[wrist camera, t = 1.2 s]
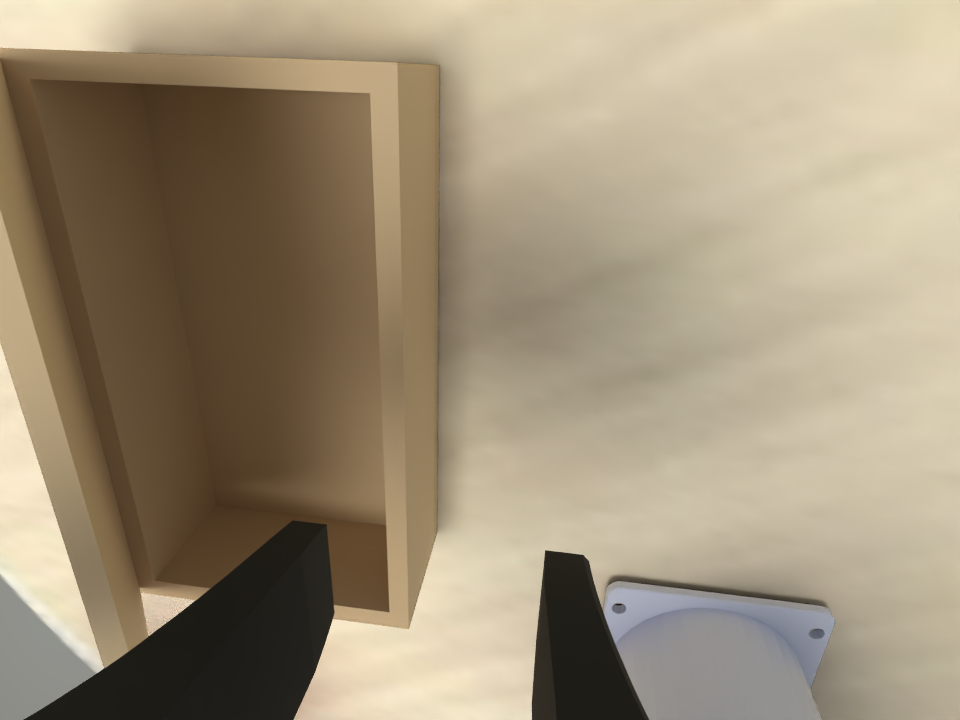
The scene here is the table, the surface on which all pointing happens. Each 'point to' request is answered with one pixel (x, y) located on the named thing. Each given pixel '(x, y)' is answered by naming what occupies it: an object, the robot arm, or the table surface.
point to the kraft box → (250, 302)
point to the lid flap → (61, 406)
